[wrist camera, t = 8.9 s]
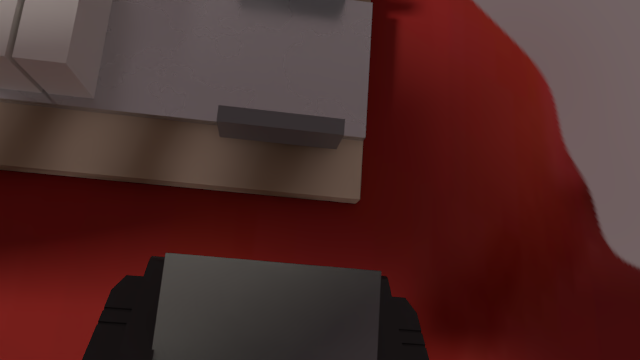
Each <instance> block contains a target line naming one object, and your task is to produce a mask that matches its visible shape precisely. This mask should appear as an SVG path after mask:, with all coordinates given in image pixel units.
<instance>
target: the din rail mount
mask: <svg viewBox="0 0 640 360" xmlns="http://www.w3.org/2000/svg"><path fill="white" fill-rule="evenodd" d="M372 7H373V3H371V0H0V170H8V171H19V172H29V173H40V174H50V175H61V176H71V177H82V178H92V179H103V180H113V181H123V182H134V183H144V184H155V185H165V186H176V187H186V188H197V189H207V190H218V191H228V192H239V193H249V194H260V195H270V196H281V197H291V198H302V199H312V200H323V201H333V202H344V203H354V204H356V203H357V202H358V201H359V200H360V190H361V172H362V153H363V141H364V139H365V137H366V119H367V100H368V82H369V63H370V45H371V26H372Z"/></svg>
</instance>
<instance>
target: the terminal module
mask: <svg viewBox="0 0 640 360" xmlns="http://www.w3.org/2000/svg"><path fill="white" fill-rule="evenodd" d="M380 287H381V271H373V270H361V269H350V268H338V267H326V266H314V265H303V264H291V263H279V262H268V261H256V260H244V259H232V258H221V257H209V256H197V255H186V254H174V253H166V254H165V261H164V268H163V275H162V282H161V289H160V296H159V303H158V310H157V317H156V324H155V331H154V338H153V345H152V350H154V354H153V360H377V350H378V329H379V308H380Z"/></svg>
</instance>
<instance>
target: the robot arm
mask: <svg viewBox="0 0 640 360" xmlns="http://www.w3.org/2000/svg"><path fill="white" fill-rule="evenodd" d="M164 261H165V257H156V256H152V257H151V258H150V260H149V263H148V265H147V268H146V271H145V274H144V277H143V276H130V275H126V276H125V277H124V278H123V279H122V280H121V281H120V282H119V283H118V284H117V285H116V286H115V287H114V288H113V289H112V290H111V292H110V295H109V297H108V299H107V302H106V304H105V307H104V310H103V311H102V314H101V316H100V318H99V321H98V325H97V326H96V328H95V330H94V333H93V335H92V338H91V340H90V342H89V345H88V347H87V349H86V352H85V354H84V357H83V359H82V360H153V354H154V350H152V345H153V338H154V331H155V324H156V317H157V310H158V303H159V296H160V289H161V282H162V275H163V268H164ZM377 360H429V358H428V354H427V350H426V348H425V343H424V339H423V335H422V334H421V328H420V324H419V320H418V316H417V313H416V312H415V310H414V309H413V308H412V306H411V305H410V304H409V302H408V301H407V300H406V298H400V297H392V296H391V291H390V286H389V282H388V279H387V277H386V276H381V287H380V308H379V329H378V350H377Z"/></svg>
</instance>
